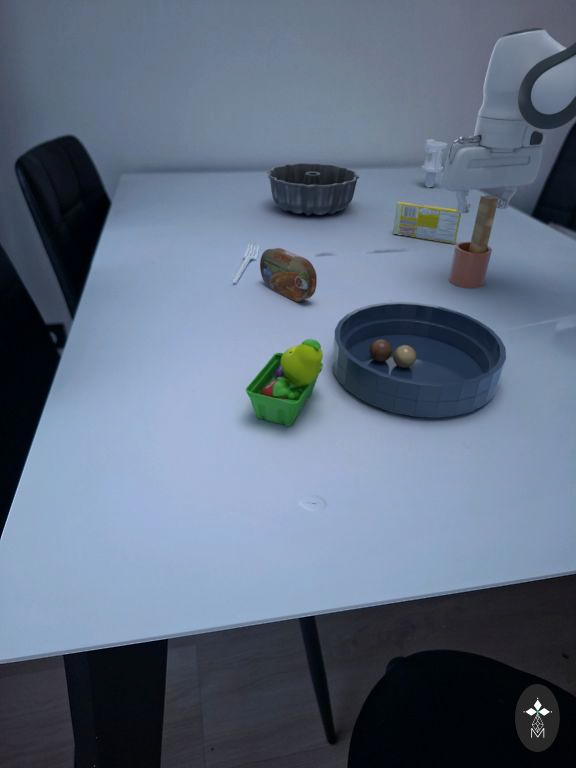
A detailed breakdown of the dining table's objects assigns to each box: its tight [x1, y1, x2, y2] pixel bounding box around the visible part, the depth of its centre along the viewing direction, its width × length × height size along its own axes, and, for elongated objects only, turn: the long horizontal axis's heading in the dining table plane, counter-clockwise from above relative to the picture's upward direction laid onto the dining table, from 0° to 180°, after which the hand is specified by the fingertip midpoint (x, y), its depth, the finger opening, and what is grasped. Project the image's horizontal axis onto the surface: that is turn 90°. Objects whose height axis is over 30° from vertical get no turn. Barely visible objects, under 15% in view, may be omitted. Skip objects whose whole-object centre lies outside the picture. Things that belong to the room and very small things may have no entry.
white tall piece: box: [420, 138, 448, 187], centre depth 178 cm, size 7×7×15 cm
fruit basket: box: [245, 338, 324, 427], centre depth 73 cm, size 11×9×11 cm
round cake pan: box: [331, 301, 507, 418], centre depth 83 cm, size 26×26×6 cm
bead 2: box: [393, 345, 416, 368], centre depth 84 cm, size 4×4×4 cm
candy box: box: [392, 201, 462, 245], centre depth 136 cm, size 16×2×8 cm, turn 65°
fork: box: [232, 243, 260, 284], centre depth 119 cm, size 3×20×2 cm, turn 171°
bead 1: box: [369, 339, 392, 362], centre depth 85 cm, size 4×4×4 cm
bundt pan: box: [267, 162, 360, 217], centre depth 156 cm, size 26×26×10 cm
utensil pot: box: [448, 241, 493, 290], centre depth 112 cm, size 7×7×8 cm
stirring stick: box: [469, 194, 499, 253], centre depth 108 cm, size 2×2×18 cm
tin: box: [259, 247, 318, 303], centre depth 106 cm, size 15×3×8 cm, turn 40°
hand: (482, 210), depth 105 cm, fingers open, 8 cm apart
